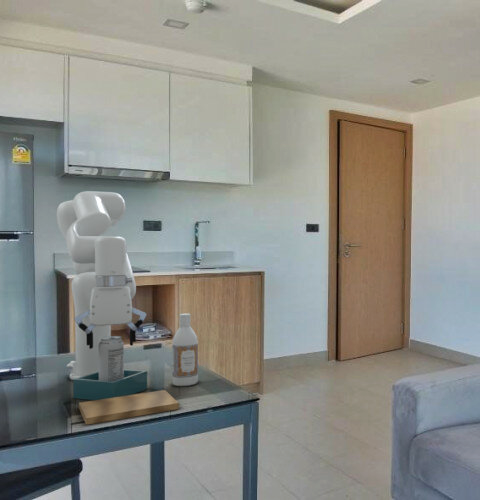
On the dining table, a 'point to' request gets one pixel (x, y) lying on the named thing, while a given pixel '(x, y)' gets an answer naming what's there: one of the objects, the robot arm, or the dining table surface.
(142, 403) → the oak board
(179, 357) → the bath foam
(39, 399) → the dining table surface
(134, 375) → the teal open tray
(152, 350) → the dining table surface
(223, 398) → the dining table surface
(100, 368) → the energy drink can
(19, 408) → the dining table surface
